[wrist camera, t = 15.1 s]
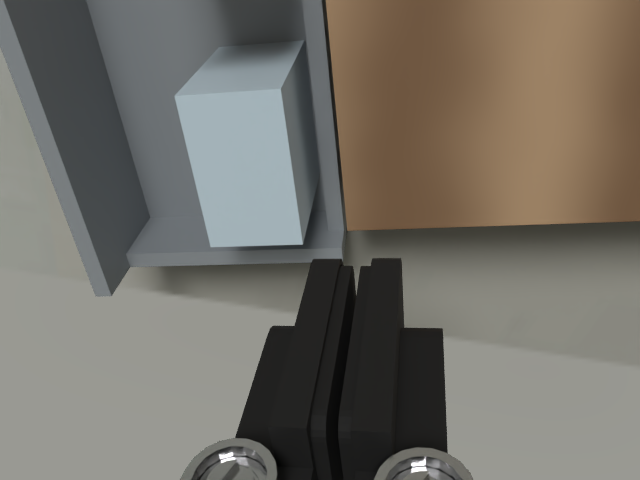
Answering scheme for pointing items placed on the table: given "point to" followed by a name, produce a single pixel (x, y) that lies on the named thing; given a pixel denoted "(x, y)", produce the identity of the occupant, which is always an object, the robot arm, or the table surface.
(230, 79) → the pale blue block
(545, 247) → the table surface
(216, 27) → the box
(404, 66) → the board
